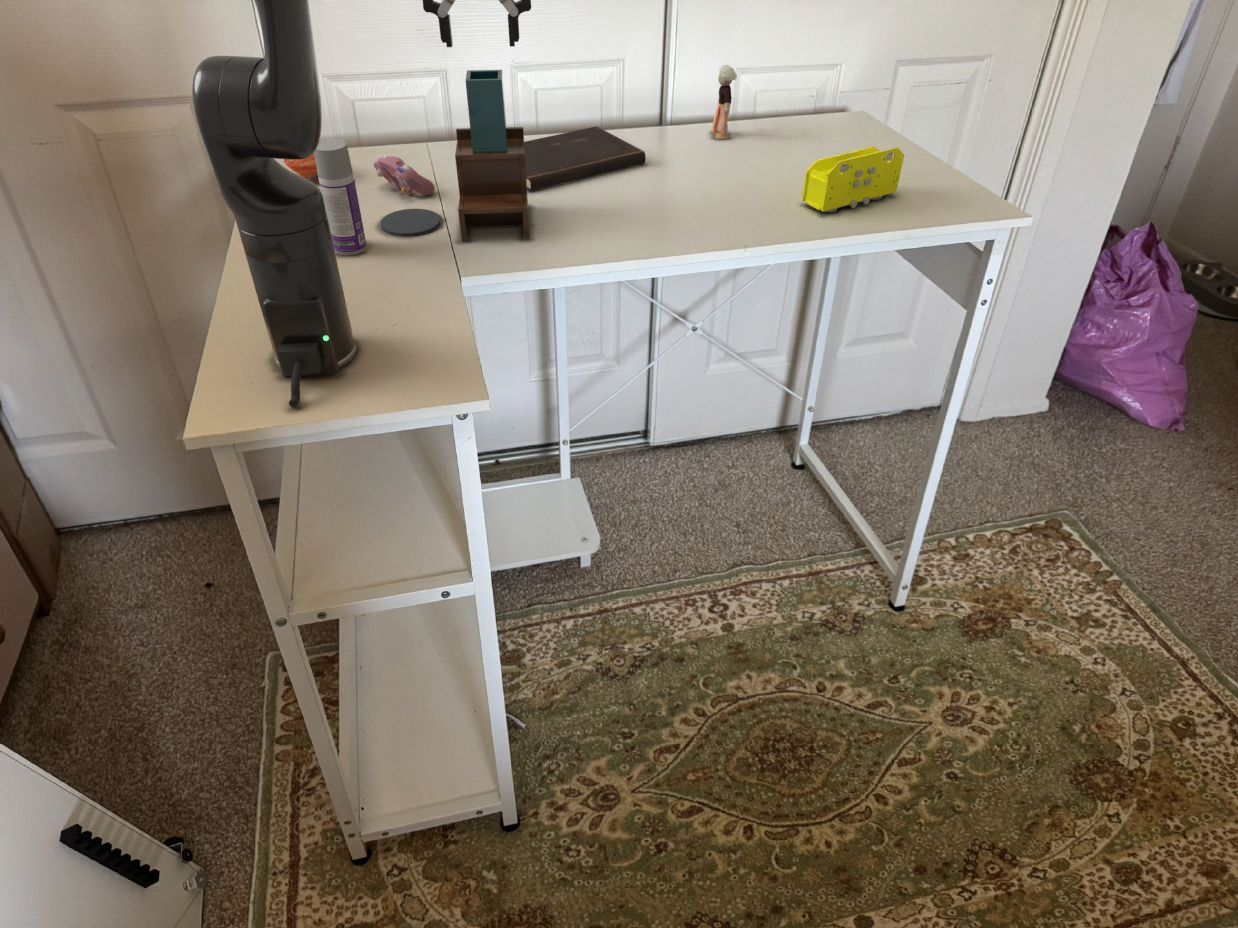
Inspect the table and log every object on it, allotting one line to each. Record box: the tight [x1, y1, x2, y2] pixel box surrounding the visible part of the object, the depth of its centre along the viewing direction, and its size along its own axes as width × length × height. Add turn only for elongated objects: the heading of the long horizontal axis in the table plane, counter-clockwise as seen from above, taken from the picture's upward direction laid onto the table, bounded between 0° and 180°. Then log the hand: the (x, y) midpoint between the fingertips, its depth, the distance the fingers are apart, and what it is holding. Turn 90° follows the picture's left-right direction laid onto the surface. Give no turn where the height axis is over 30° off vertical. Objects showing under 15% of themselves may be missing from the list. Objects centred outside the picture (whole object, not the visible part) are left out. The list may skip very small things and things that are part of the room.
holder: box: [465, 69, 507, 153], centre depth 125 cm, size 5×5×10 cm
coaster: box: [380, 208, 442, 237], centre depth 133 cm, size 9×9×1 cm
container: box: [314, 138, 368, 256], centre depth 121 cm, size 5×5×15 cm
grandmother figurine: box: [710, 64, 738, 140], centre depth 160 cm, size 8×4×13 cm, turn 10°
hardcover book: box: [524, 125, 647, 192], centre depth 152 cm, size 16×23×2 cm
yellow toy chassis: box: [801, 146, 905, 213], centre depth 138 cm, size 16×6×8 cm, turn 121°
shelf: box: [454, 126, 530, 242], centre depth 129 cm, size 12×10×12 cm
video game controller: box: [373, 154, 436, 196], centre depth 141 cm, size 10×5×7 cm, turn 45°
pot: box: [283, 153, 318, 180], centre depth 145 cm, size 8×8×7 cm
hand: (481, 45), depth 119 cm, fingers open, 8 cm apart
